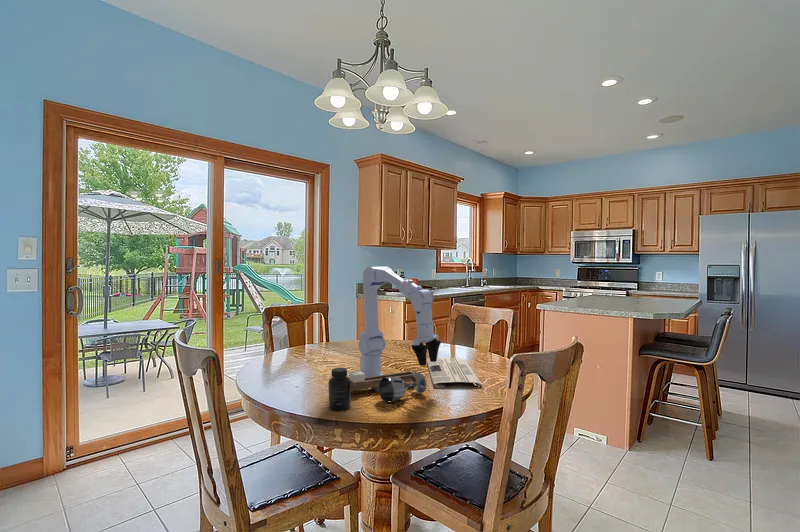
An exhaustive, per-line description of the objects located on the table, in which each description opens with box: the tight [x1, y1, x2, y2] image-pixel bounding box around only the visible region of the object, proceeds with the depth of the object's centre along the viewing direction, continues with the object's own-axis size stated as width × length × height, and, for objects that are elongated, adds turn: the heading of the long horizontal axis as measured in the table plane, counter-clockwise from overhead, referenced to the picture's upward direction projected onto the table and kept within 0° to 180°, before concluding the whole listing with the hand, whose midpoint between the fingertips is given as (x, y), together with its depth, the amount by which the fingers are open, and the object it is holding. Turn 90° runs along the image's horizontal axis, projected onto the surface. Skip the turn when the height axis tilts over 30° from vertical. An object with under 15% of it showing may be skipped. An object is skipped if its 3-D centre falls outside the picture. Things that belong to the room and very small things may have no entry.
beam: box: [350, 370, 416, 393], centre depth 144 cm, size 6×28×4 cm, turn 117°
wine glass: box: [378, 371, 427, 404], centre depth 135 cm, size 8×8×15 cm
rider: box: [348, 370, 365, 383], centre depth 140 cm, size 4×4×4 cm
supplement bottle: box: [327, 367, 352, 412], centre depth 126 cm, size 7×7×12 cm
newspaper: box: [426, 357, 483, 388], centre depth 164 cm, size 37×19×3 cm, turn 0°
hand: (428, 363), depth 139 cm, fingers open, 7 cm apart
